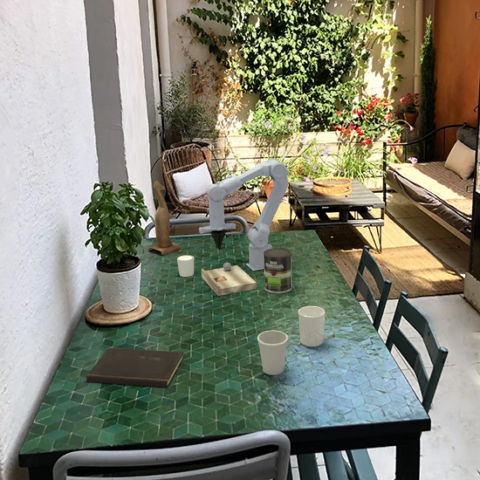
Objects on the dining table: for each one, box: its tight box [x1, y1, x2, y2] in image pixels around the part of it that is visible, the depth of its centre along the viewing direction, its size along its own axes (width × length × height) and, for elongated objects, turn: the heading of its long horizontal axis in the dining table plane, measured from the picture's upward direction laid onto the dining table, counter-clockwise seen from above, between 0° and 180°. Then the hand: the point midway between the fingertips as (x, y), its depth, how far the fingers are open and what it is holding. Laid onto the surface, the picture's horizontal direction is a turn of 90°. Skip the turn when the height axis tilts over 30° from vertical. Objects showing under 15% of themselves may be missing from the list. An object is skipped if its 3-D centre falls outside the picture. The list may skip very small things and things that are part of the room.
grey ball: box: [222, 262, 232, 271], centre depth 228 cm, size 3×3×3 cm
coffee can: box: [263, 247, 293, 294], centre depth 214 cm, size 10×10×14 cm
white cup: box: [297, 305, 326, 348], centre depth 174 cm, size 8×8×10 cm
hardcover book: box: [86, 347, 184, 388], centre depth 164 cm, size 16×23×2 cm
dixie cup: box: [256, 330, 289, 376], centre depth 160 cm, size 8×8×10 cm
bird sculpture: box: [147, 180, 182, 256], centre depth 258 cm, size 11×12×32 cm
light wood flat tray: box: [200, 264, 257, 297], centre depth 222 cm, size 15×20×4 cm
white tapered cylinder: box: [176, 254, 195, 278], centre depth 232 cm, size 7×7×7 cm
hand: (218, 248), depth 232 cm, fingers closed
